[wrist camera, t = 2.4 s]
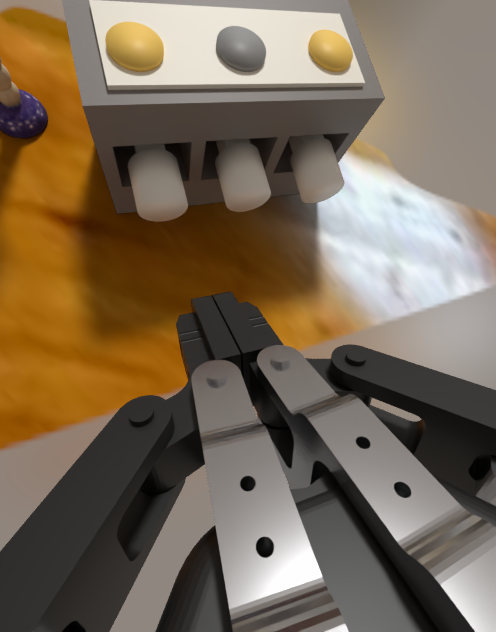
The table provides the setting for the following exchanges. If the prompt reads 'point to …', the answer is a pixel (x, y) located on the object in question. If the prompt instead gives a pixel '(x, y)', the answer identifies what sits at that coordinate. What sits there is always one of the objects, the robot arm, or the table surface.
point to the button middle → (241, 175)
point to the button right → (315, 168)
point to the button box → (218, 83)
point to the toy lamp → (19, 109)
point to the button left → (157, 183)
